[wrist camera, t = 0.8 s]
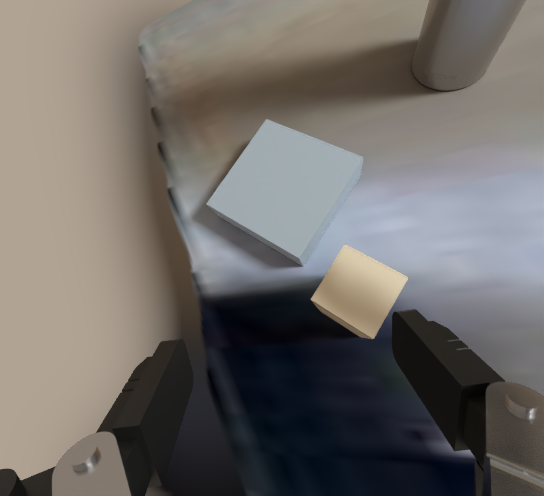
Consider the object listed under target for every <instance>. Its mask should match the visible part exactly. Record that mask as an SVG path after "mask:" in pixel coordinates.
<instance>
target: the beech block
mask: <svg viewBox="0 0 544 496" xmlns="http://www.w3.org/2000/svg"><path fill="white" fill-rule="evenodd" d="M407 279H408V277H407V276H405V275H403V274H401V273H399V272H397V271H395V270H393V269H391V268H389V267H388V266H386V265H384V264H382V263H380V262H378V261H376V260H374V259H372V258H370V257H368V256H367V255H365V254H363V253H361V252H359V251H357V250H355V249H353V248H351V247H349V246H348V245H346V244H345V245H344V246H343V248H342V250H341V251H340V253H339V254H338V256H337V258H336V259H335V261H334V263H333V264H332V266H331V267H330V269H329V271H328V272H327V274H326V276H325V277H324V279H323V280H322V282H321V284H320V285H319V287H318V288H317V290H316V292H315V293H314V295H313V297H312V298H311V300H312V302H313V303H314V304H315V305H316V307H317V308H318V309H319V310H320V312H322V313H323V314H325V315H327V316H328V317H330V318H331V319H333V320H334V321H336V322H338V323H339V324H341V325H342V326H344V327H345V328H347V329H348V330H350V331H352V332H353V333H355V334H356V335H358V336H359V337H363V338H369V339H374V337H375V335H376V334H377V332H378V330H379V328H380V327H381V325H382V323H383V321H384V320H385V318H386V316H387V314H388V313H389V311H390V309H391V307H392V306H393V304H394V302H395V300H396V299H397V297H398V295H399V293H400V292H401V290H402V288H403V286H404V285H405V283H406V281H407Z"/></svg>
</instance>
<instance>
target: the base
mask: <svg viewBox="0 0 544 496" xmlns="http://www.w3.org/2000/svg"><path fill="white" fill-rule="evenodd" d="M362 164H363V157H362V156H359V155H357V154H354V153H351V152H349V151H346V150H344V149H341V148H339V147H336V146H334V145H331V144H329V143H326V142H323V141H321V140H318V139H316V138H313V137H311V136H308V135H306V134H303V133H301V132H298V131H295V130H293V129H290V128H288V127H285V126H283V125H280V124H278V123H275V122H273V121H270V120H268V119H266V120H265V122H264V123H263V125H262V126H261V128H260V129H259V130H258V132H257V133H256V135H255V136H254V137H253V139H252V140H251V142H250V143H249V144H248V146H247V147H246V149H245V150H244V151H243V153H242V154H241V156H240V157H239V158H238V160H237V161H236V163H235V164H234V165H233V167H232V168H231V170H230V171H229V173H228V174H227V175H226V177H225V178H224V180H223V181H222V182H221V184H220V185H219V187H218V188H217V189H216V191H215V192H214V194H213V195H212V196H211V198H210V199H209V201H208V202H207V203H206V204H207V205H208V206H209V207H210V208H211V209H212V210H213V211H214V212H215V213H216V214H217V215H218V216H219V217H220V218H222V219H224V220H226V221H227V222H229V223H231V224H232V225H234V226H236V227H237V228H239V229H241V230H242V231H244V232H246V233H248V234H249V235H251V236H253V237H254V238H256V239H258V240H259V241H261V242H263V243H264V244H266V245H268V246H270V247H271V248H273V249H275V250H276V251H278V252H280V253H281V254H283V255H285V256H286V257H288V258H290V259H291V260H293V261H295V262H297V263H298V264H300V265H302V266H304V265H305V263H306V262H307V260H308V258H309V257H310V255H311V254H312V252H313V251H314V249H315V247H316V246H317V244H318V243H319V241H320V239H321V238H322V236H323V235H324V233H325V232H326V230H327V228H328V227H329V225H330V224H331V222H332V221H333V219H334V217H335V216H336V214H337V213H338V211H339V209H340V208H341V206H342V205H343V203H344V202H345V200H346V198H347V197H348V195H349V194H350V192H351V190H352V189H353V187H354V186H355V184H356V183H357V181H358V179H359V178H360V176H361V171H362Z"/></svg>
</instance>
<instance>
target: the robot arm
mask: <svg viewBox="0 0 544 496" xmlns="http://www.w3.org/2000/svg"><path fill="white" fill-rule="evenodd" d="M525 1H526V0H429V3H428V7H427V10H426V14H425V18H424V21H423V25H422V29H421V32H420V36H419V39H418V43H417V47H416V50H415V54H414V58H413V61H412V71H413V74H414V76H415V78H416V79H417V80H418V81H419V82H420V83H422V84H423V85H425V86H427V87H430V88H432V89H437V90H456V89H460V88H464V87H467V86H469V85H471V84H473V83H474V82H476V81H477V80H479V79H480V78H481V77H482V76H483V75H484V73H485V71H486V70H487V68H488V66H489V65H490V63H491V61H492V59H493V58H494V56H495V54H496V52H497V51H498V49H499V47H500V45H501V44H502V42H503V40H504V38H505V37H506V35H507V33H508V31H509V30H510V28H511V26H512V24H513V23H514V21H515V19H516V17H517V15H518V14H519V12H520V10H521V8H522V7H523V5H524V3H525ZM392 350H393V355H394V358H395V360H396V362H397V364H398V366H399V367H400V369H401V370H402V372H403V373H404V375H405V376H406V378H407V379H408V381H409V382H410V384H411V386H412V387H413V389H414V390H415V392H416V393H417V395H418V396H419V398H420V399H421V401H422V402H423V404H424V405H425V407H426V408H427V410H428V412H429V413H430V415H431V416H432V418H433V419H434V421H435V422H436V424H437V425H438V427H439V428H440V430H441V431H442V433H443V435H444V436H445V438H446V439H447V441H448V442H449V444H450V445H451V447H452V448H453V450H454V451H460V450H468V449H470V451H471V452H472V453H473V455H474V456H475V458H476V461H475V481H474V496H544V396H543V395H542V394H540V393H538V392H537V391H535V390H533V389H531V388H528V387H526V386H523V385H520V384H516V383H512V382H506V381H505V380H504V379H503V378H501V377H500V376H499V375H498V374H497V373H496V372H495V371H494V370H493V369H492V368H491V367H489V366H488V365H487V364H486V363H485V362H484V361H483V360H482V359H481V358H480V357H479V356H477V355H476V354H475V353H474V352H473V351H472V350H471V349H469V348H468V346H467V345H466V344H464V343H463V342H462V341H460V340H459V338H458V337H457V336H456V335H455V334H454V333H452V332H451V331H450V330H449V329H448V328H446V327H444V326H442V325H440V324H438V323H436V322H434V321H429V322H428V321H427V320H426V319H425V318H424V317H423V316H422V315H421V314H420V313H419V312H418V311H417V310H415V309H413V310H405V311H397V312H394V313H393V315H392ZM192 387H193V371H192V367H191V364H190V360H189V357H188V353H187V349H186V346H185V342H184V341H183V339H176V340H169V341H162V342H161V343H160V344H159V346H158V347H157V349H156V351H155V353H154V354H153V356H152V357H147V358H146V359H145V360H144V361H143V362H142V363H140V364H139V365H138V366H137V367H136V369H135V370H134V371H133V373H132V375H131V377H130V378H129V380H128V382H127V383H126V384H125V386H124V388H123V389H122V393H120V394H119V396H118V398H117V399H116V401H115V403H114V404H113V406H112V408H111V409H110V411H109V412H108V414H107V416H106V417H105V419H104V420H103V422H102V424H101V425H100V427H99V429H98V430H97V432H96V433H94V434H92V435H89V436H87V437H85V438H83V439H82V440H80V441H79V442H77V443H76V444H75V445H74V446H72V447H71V448H70V449H69V450H68V451H67V452H66V453H65V454H64V455H63V456H62V458H61V459H60V460H59V462H58V463H57V465H56V466H55V467H53V468H51V469H48V470H46V471H43V472H41V473H38V474H36V475H34V476H31V477H29V478H27V479H24V480H20V479H19V477H18V476H17V474H16V472H15V471H14V470H12V469H1V470H0V496H145V494H146V491H147V488H148V487H155V486H162V484H163V481H164V478H165V474H166V472H167V468H168V465H169V462H170V458H171V455H172V452H173V449H174V446H175V442H176V439H177V436H178V433H179V429H180V426H181V423H182V420H183V416H184V413H185V410H186V407H187V404H188V400H189V397H190V394H191V391H192Z"/></svg>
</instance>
